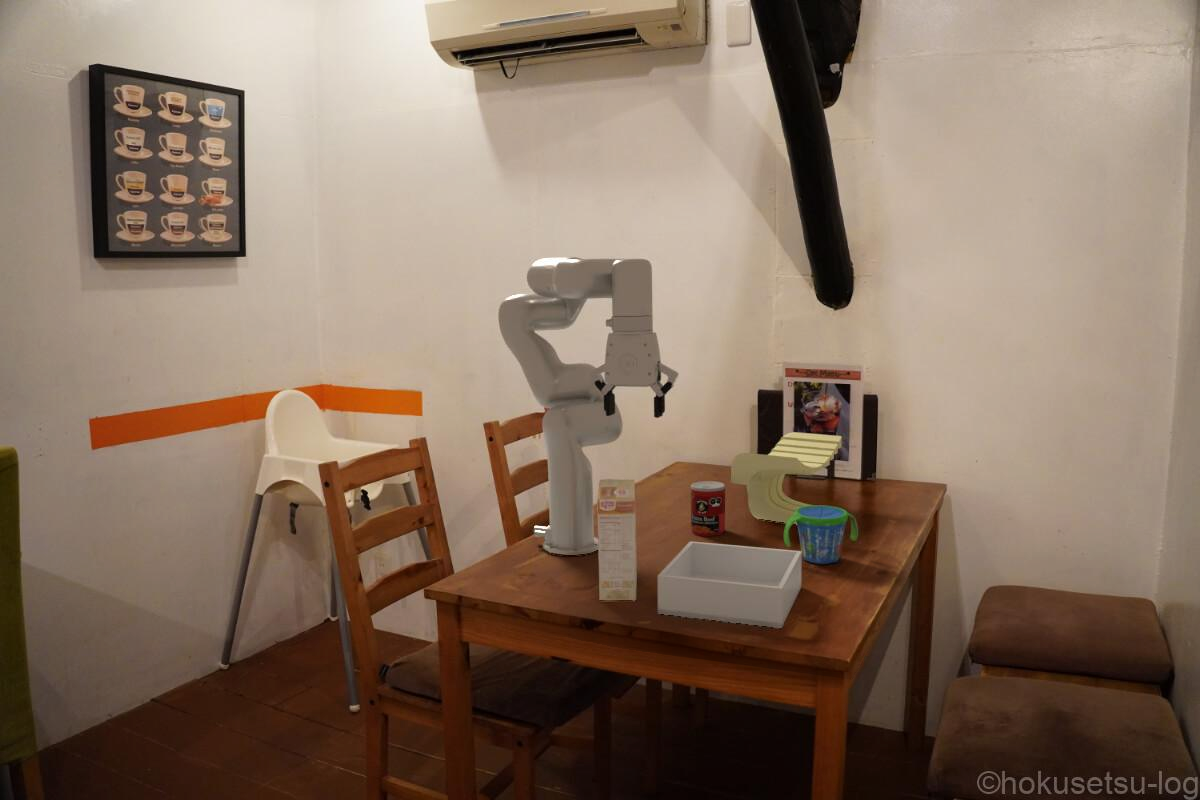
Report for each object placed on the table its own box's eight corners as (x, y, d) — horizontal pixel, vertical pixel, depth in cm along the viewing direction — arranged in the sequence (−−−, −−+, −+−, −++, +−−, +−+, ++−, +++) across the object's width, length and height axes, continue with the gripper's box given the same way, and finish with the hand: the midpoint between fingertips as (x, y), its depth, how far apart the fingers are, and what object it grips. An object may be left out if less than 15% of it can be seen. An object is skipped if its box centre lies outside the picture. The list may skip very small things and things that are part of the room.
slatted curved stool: (780, 498, 244) (781, 431, 242) (840, 506, 236) (841, 436, 233) (730, 526, 219) (731, 451, 217) (795, 535, 211) (796, 457, 208)
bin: (657, 614, 165) (657, 575, 164) (690, 575, 185) (689, 541, 184) (781, 628, 157) (781, 588, 156) (801, 587, 177) (801, 551, 176)
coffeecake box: (600, 575, 186) (599, 478, 183) (636, 575, 186) (635, 478, 183) (597, 602, 171) (595, 497, 169) (636, 601, 171) (635, 497, 168)
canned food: (685, 534, 213) (685, 486, 212) (698, 525, 220) (698, 479, 219) (717, 538, 210) (717, 490, 208) (729, 529, 217) (730, 482, 215)
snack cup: (791, 569, 188) (791, 519, 186) (776, 553, 198) (776, 506, 197) (866, 565, 189) (868, 516, 188) (848, 550, 200) (849, 503, 198)
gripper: (582, 326, 176) (584, 417, 178) (670, 326, 169) (672, 420, 172) (597, 324, 183) (599, 411, 185) (682, 324, 176) (683, 414, 178)
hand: (634, 415), depth 178 cm, fingers open, 9 cm apart
